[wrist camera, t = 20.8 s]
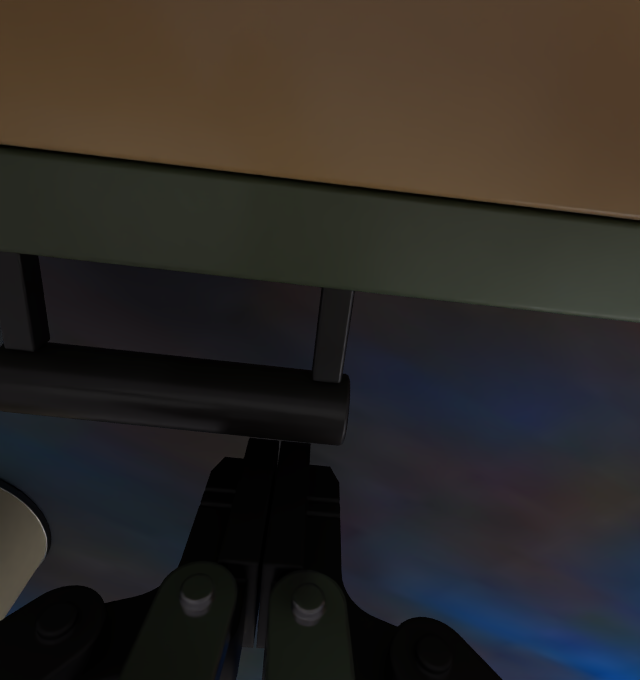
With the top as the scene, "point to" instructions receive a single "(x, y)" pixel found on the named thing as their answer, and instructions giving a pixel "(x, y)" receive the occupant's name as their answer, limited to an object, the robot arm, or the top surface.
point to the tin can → (19, 543)
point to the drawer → (269, 279)
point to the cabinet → (342, 92)
